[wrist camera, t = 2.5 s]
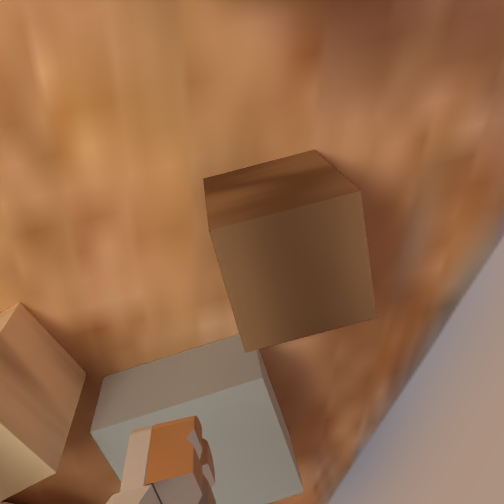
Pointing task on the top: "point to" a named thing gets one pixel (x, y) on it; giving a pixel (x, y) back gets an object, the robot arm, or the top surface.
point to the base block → (207, 417)
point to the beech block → (33, 400)
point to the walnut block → (290, 248)
